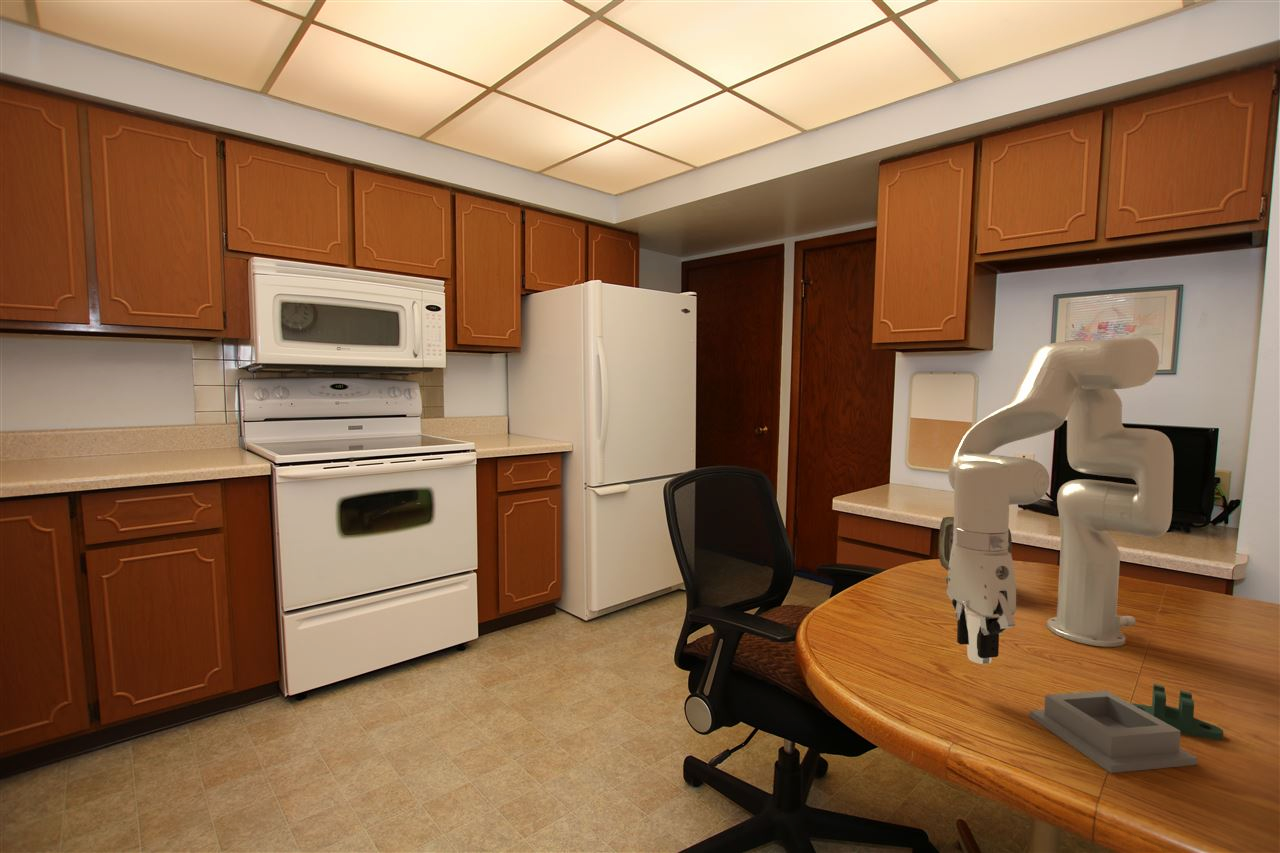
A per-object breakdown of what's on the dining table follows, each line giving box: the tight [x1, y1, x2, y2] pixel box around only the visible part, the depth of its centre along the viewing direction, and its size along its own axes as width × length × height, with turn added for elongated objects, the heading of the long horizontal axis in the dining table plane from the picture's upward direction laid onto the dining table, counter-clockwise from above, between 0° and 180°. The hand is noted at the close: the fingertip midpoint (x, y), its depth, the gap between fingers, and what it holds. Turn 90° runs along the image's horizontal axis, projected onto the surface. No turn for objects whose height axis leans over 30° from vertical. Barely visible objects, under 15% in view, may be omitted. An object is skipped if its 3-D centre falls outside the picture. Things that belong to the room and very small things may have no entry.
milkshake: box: [962, 600, 993, 665], centre depth 93 cm, size 4×5×10 cm
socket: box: [1029, 690, 1198, 774], centre depth 82 cm, size 13×13×4 cm
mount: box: [1130, 683, 1224, 741], centre depth 86 cm, size 11×4×5 cm, turn 51°
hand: (977, 648), depth 93 cm, fingers closed on milkshake, 4 cm apart
